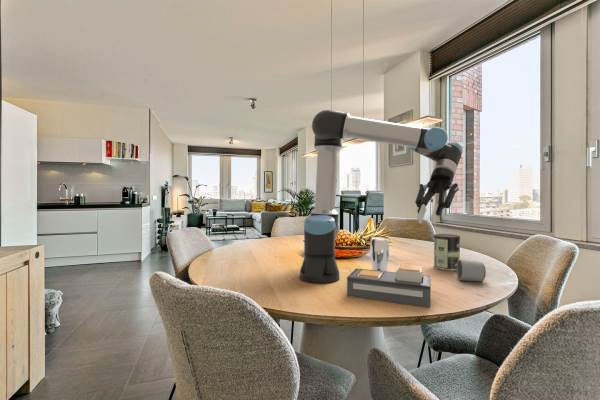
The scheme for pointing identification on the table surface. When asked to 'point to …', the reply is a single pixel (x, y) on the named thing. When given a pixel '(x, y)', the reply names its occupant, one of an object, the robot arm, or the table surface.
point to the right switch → (409, 273)
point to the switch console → (389, 289)
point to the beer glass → (379, 253)
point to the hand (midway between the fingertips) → (425, 221)
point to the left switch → (370, 274)
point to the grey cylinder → (470, 270)
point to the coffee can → (446, 251)
